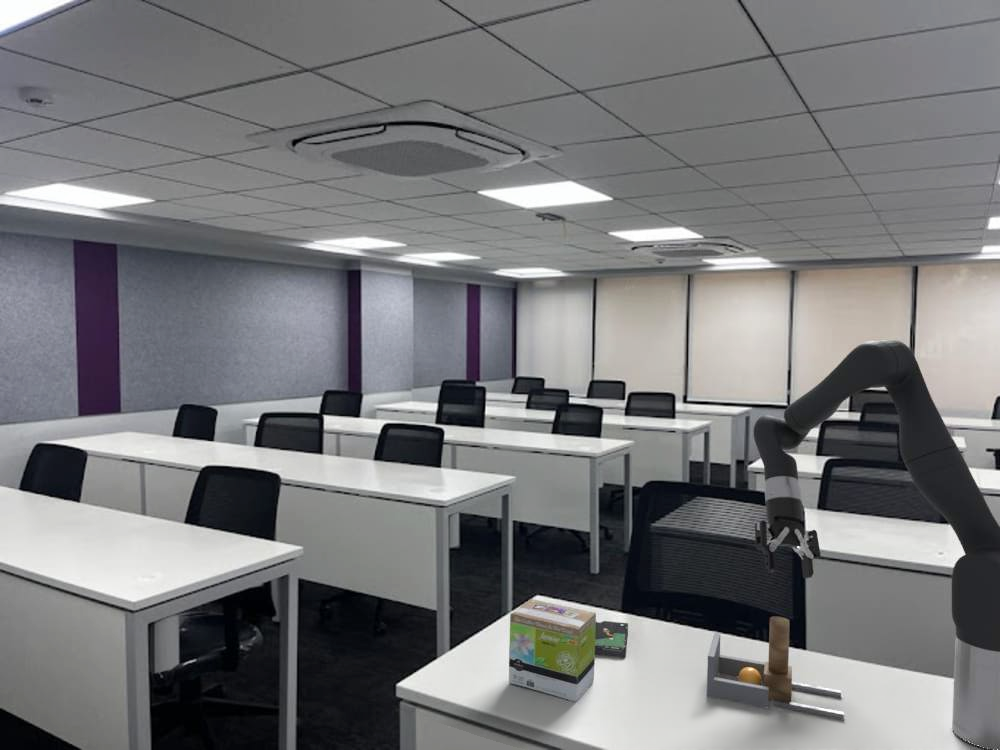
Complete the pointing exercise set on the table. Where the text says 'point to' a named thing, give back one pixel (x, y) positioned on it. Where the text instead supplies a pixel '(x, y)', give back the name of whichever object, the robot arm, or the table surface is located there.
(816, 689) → the track
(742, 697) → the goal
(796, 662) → the table surface
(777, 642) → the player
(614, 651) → the disk drive
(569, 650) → the tea box
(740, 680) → the ball
